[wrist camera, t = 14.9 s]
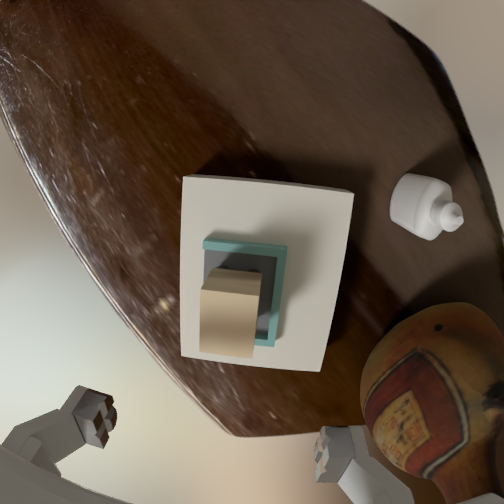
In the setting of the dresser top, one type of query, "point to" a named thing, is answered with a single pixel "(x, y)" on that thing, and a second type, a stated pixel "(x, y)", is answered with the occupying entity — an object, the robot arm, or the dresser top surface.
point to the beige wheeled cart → (229, 312)
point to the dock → (266, 261)
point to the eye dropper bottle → (424, 206)
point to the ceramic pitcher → (439, 398)
